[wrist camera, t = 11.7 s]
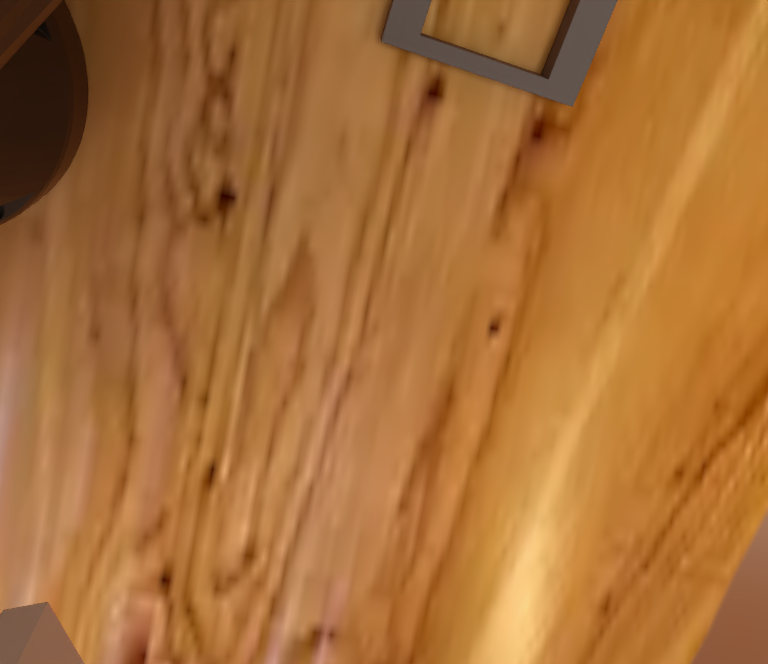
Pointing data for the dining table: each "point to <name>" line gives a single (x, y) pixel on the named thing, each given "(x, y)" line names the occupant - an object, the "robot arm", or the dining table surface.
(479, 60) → the grey double frame
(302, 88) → the dining table surface
